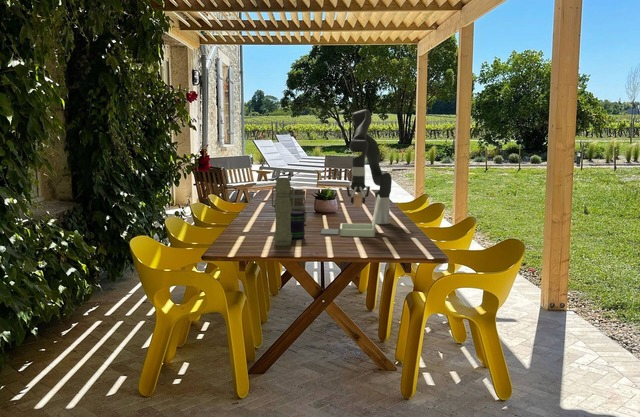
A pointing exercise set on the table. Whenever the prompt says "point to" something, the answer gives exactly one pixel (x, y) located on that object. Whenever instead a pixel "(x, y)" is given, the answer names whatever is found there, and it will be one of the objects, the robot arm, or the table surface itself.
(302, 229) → the storage jar
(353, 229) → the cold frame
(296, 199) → the mug
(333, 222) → the table surface
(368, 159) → the robot arm
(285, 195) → the thermos
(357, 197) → the pot
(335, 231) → the slate mat
